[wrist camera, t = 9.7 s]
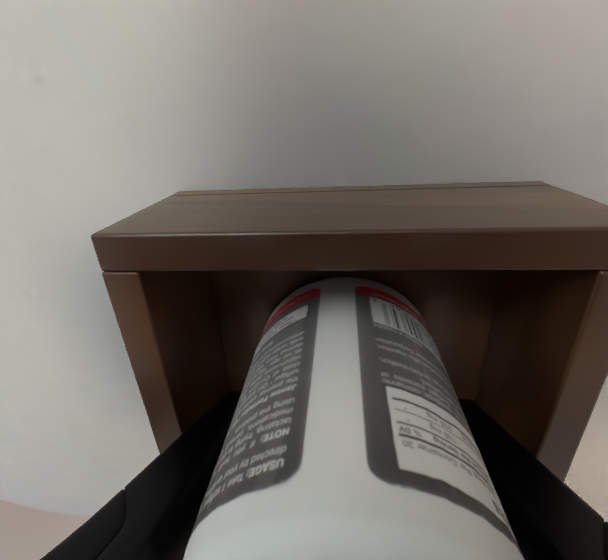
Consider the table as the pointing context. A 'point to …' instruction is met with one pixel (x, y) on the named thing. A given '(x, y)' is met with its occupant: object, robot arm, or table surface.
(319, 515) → the pill bottle
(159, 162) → the table surface
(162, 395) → the holder
